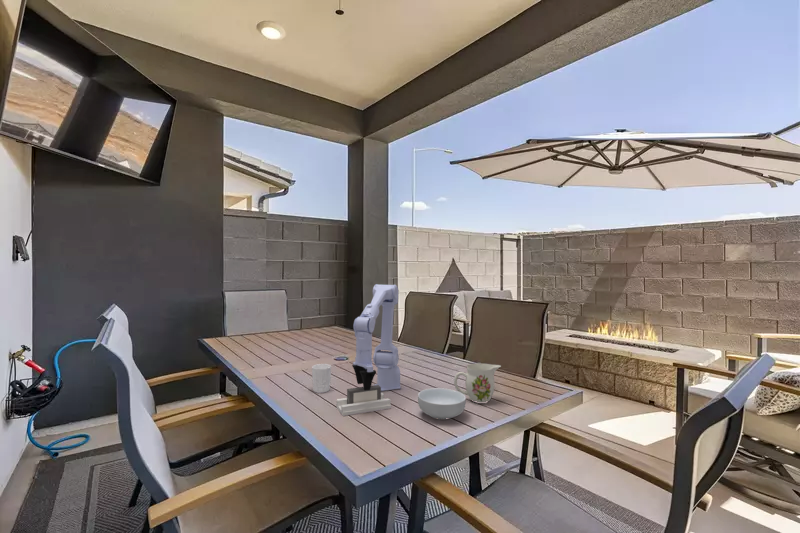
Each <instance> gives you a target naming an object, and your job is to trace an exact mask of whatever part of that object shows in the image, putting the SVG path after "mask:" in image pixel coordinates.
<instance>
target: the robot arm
mask: <svg viewBox="0 0 800 533" xmlns="http://www.w3.org/2000/svg"><path fill="white" fill-rule="evenodd" d="M399 294H400V293H399V288H398V285H397V284H378V283H376V284H374V286H373V288H372V299H371V302H370V303H367V305H366V306H365V307H364V309H363V311H362V312H361V314H360V315H359V316H357V317H355V319H354V321H353V332H354V337H355V339H356V340H355V343H356V344H355V348H356V349H355V354H356V355H355V358H354V359H355V361H353V362H352V365H351V367H352V368H353V371H354V373H355V378H356V382H357V385H361V384H362V385H363V386H362V387H364V390H370V388H371V386H372V383H373V380H374V377H375V376H376V375H377V377H376V379H377V380H376V384H374V385H379V386H380V387H381V392H385V391H391V390H392V391H393V390H397V389H400V390H401V388H402V387H401V369H400V367H399V366H398V364H399V360H400V359H399V357H400V356H399V349H398V347H397V346H396V345H394V343H393V332H394V330H393V329H394V314H395V311H394V310H395V306H396V305H398V302H399ZM380 306H382V314H381V330H380V331H381V333H380V343H379V344H378V345H376V346H375V347H374V353H373V347H372V346H373V345H372V344H373V332H374V331H375V325H376V320H377V318H378V316H379V314H380ZM372 354H373V356H372ZM372 358H373V359H372ZM373 363H374V366H375V367H376V369H377V370H375V369H374V366H373Z"/></svg>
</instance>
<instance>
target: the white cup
mask: <svg viewBox="0 0 800 533" xmlns="http://www.w3.org/2000/svg"><path fill="white" fill-rule="evenodd" d="M331 373H332V365H331V364H328V363H317V364H314V365H312V366H311V378H312V391H313V392H314V393H316V394H317V393H318V394H323V393H327V392H329V391H330V389H331V388H330V386H331V385H330V384H331V378H332V377H331V376H332V374H331Z"/></svg>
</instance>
